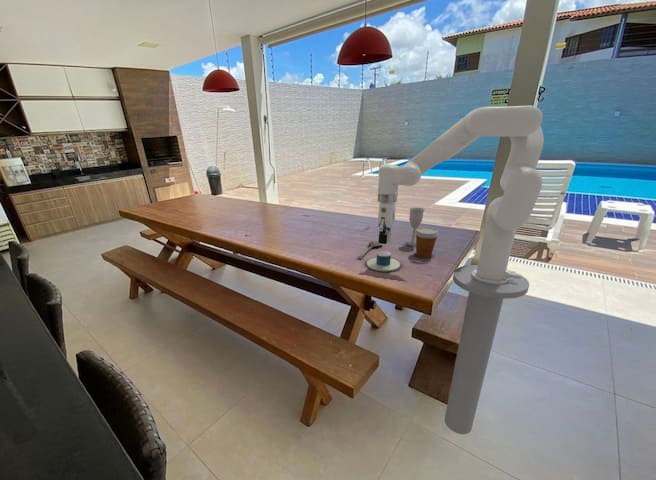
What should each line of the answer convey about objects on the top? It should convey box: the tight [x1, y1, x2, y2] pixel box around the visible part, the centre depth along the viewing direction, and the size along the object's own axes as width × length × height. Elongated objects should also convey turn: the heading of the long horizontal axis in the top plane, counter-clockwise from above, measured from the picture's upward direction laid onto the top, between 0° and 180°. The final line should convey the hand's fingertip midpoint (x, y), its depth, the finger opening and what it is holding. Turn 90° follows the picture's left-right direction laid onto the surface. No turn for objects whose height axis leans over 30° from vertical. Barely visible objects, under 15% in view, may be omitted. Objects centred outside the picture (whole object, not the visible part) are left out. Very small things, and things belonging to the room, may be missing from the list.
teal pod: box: [376, 250, 392, 266], centre depth 131 cm, size 6×6×4 cm
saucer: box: [366, 257, 401, 272], centre depth 132 cm, size 14×14×1 cm
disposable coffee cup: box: [415, 226, 439, 259], centre depth 137 cm, size 10×10×12 cm
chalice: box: [407, 207, 425, 246], centre depth 149 cm, size 7×7×18 cm
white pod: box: [377, 230, 392, 245], centre depth 127 cm, size 5×5×4 cm
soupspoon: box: [357, 240, 383, 260], centre depth 147 cm, size 22×3×7 cm
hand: (384, 240), depth 128 cm, fingers closed on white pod, 5 cm apart
